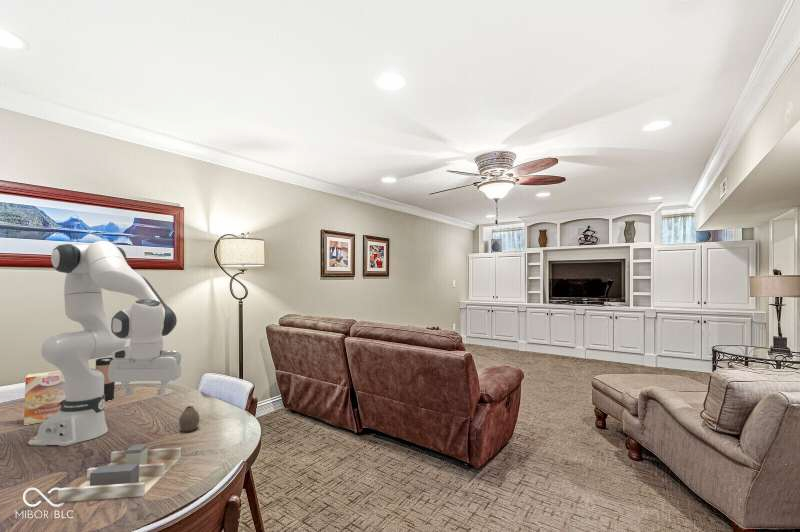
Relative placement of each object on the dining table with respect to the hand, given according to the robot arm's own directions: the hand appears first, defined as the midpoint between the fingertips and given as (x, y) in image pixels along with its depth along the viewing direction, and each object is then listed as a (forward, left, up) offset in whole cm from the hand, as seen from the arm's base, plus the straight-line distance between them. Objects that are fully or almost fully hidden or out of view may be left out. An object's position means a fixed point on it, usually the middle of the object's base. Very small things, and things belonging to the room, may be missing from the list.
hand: (144, 394), depth 118 cm
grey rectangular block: (+1, -5, -20) cm, 21 cm away
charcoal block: (+1, -15, -20) cm, 26 cm away
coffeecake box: (-60, +47, -22) cm, 79 cm away
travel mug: (-54, +72, -22) cm, 93 cm away
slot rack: (+1, -10, -21) cm, 24 cm away
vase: (+3, +27, -22) cm, 35 cm away
